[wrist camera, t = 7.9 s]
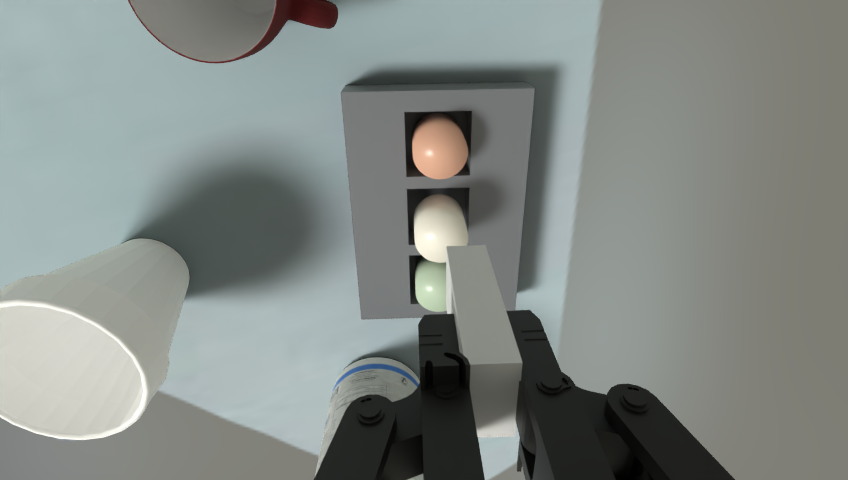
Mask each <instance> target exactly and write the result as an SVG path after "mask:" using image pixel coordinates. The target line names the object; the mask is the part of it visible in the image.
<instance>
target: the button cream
mask: <svg viewBox="0 0 848 480" xmlns="http://www.w3.org/2000/svg"><path fill="white" fill-rule="evenodd" d="M414 238H415V246H416V248H417V250H418V252H419V253H420V254H421V255H422V256H423V257H424V258H426V259H427V260H430V261H432V262H438V263H443V262H446V246H467V244H468V231H467V227H466V224H465V220H464V216H463V212H462V209H461V207H460V205H459V203H458V202H457V201H456V200H455V199H453V198H452V197H450V196H447V195H443V194H435V195H431V196H428V197H426V198H424V199H423V200H422V201H421V202H420V203H419V204H418V205H417V207H416V209H415V212H414Z"/></svg>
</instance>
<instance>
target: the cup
mask: <svg viewBox="0 0 848 480" xmlns="http://www.w3.org/2000/svg"><path fill="white" fill-rule="evenodd" d="M189 280H190V276H189V270H188V267H187V265H186V262H185V261H184V260H183V258H182V257H181V256H180V254H178V253H177V252H176V251H175V250H174V249H173V248H171V247H169V246H168V245H166V244H164V243H162V242H159V241H156V240H153V239H144V238H139V239H132V240H129V241H127V242H124V243H122V244H119V245H117V246H115V247H112V248H110V249H107V250H105V251H102V252H100V253H97V254H95V255H92V256H90V257H87V258H85V259H82V260H80V261H78V262H75V263H73V264H70V265H68V266H65V267H63V268H60V269H58V270H55V271H53V272H50V273H48V274H45V275H39V276H31V277H25V278H23V279H20V280H18V281H16V282H13V283H11V284H9V285H6V286H5V287H4V288H3V289H2V290H1V291H0V417H1V418H3V419H5V420H6V421H8V422H10V423H11V424H14V425H16V426H19V427H21V428H24V429H26V430H29V431H31V432H34V433H37V434H41V435H46V436H50V437H55V438H59V439H75V440H86V439H94V438H102V437H107V436H109V435H112V434H115V433H118V432H121V431H123V430H125V429H126V428H127V427H129V426H130V425H132V424H133V423H134V422H136V421H137V420H138V419H139V418H140V416H141V415H142V413H143V412H144V410H145V409H146V408H147V406H148V402H149V401H150V400H151V398H152V397H153V396H154V394H155V393H156V392H157V391H158V389H159V388H160V386H161V385H162V383H163V382H164V380H165V379H166V376H167V371H168V367H169V357H168V353H169V350H170V346H171V343H172V339H173V336H174V333H175V329H176V326H177V322H178V319H179V316H180V312H181V309H182V305H183V302H184V299H185V295H186V292H187V288H188V285H189Z"/></svg>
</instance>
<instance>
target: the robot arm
mask: <svg viewBox="0 0 848 480" xmlns="http://www.w3.org/2000/svg"><path fill="white" fill-rule="evenodd" d="M446 308H447V314H430V315H424V316H423V318H422V319H421V321H420V323H419V324H418V329H419V363H420V383H419V385H418V387H417V389H416V390H415V391H414V392H413V393H412V394H410V395H409V396H407V397H405V398H403V399H400V400H397V401H394V402H392V401H390V400H389V399H388V398H387V397H384V396H381V395H378V394H374V395H365V396H362V397H359V398H357V399H356V400H354V401H353V402H351V403H350V405H349V406H348V407H347V409H346V410H345V412H344V415H343V417H342V419H341V421H340V423H339V426H338V428H337V430H336V432H335V434H334V437H333V439H332V441H331V443H330V445H329V447H328V450H327V452H326V454H325V456H324V458H323V461H322V463H321V465H320V467H319V469H318V472H317V474H316V476H315V478H314V480H408V479H410V478H413V477H416V476H418V475H421V474H423V480H485V479H484V473H483V467H482V461H481V455H480V449H479V442H478V438H484V437H510V436H515V434H516V424H517V428H518V432H519V435H520V441H519V451H518V460H517V471H521V467H523V471H524V475H525V479H526V480H735V479H734V478H733V477H732V476H731V475H730V474H729V473H728V472H727V471H726V470H725V469H724V468H723V467H722V466H721V465H720V464H719V462H718V461H717V460H716V459H715V458H714V457H712V455H711V454H710V453H709V452H708V451H707V450H706V449H705V448H704V447H703V446H702V445H701V444H700V443H699V441H697V439H696V438H695V437H694V436H693V435H692V434H691V433H690V432H689V431H688V430H687V429H686V428H685V427H684V426H683V425H682V424H681V423H680V422H679V420H677V418H676V417H675V416H674V415H673V414H672V413H671V412H670V411H669V410H668V409H667V408H666V407H665V406H664V405H663V404H662V403H661V402H660V401H659V400H658V398H657V397H655V396H654V395H653V394H652V393H650V392H649V391H648V390H646V389H643V388H641V387H639V386H636V385H631V384H619V385H616V386H614V387H612V388H611V389H610V390H609V392H608V393H607V395H605V394H600V393H596V392H591V391H587V390H584V389H581V388H579V387H576V386H575V384H574V383H573V381H572V380H571V379H570V377H568V376H567V375H565V374H564V373H563V372H561V370H560V368H559V365H558V363H557V360H556V358H555V355H554V353H553V351H552V348H551V346H550V343H549V341H548V338H547V336H546V334H545V332H544V329H543V326H542V324H541V321H540V319H539V318H538V317H537V316H535V315H534V314H533V313H532V312H531V311H530V310H519V311H506V309H505V305H504V302H503V299H502V296H501V293H500V290H499V287H498V283H497V280H496V277H495V274H494V271H493V268H492V264H491V261H490V258H489V255H488V252H487V249H486V245H470V246H446Z"/></svg>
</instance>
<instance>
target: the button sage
mask: <svg viewBox="0 0 848 480" xmlns="http://www.w3.org/2000/svg"><path fill="white" fill-rule="evenodd" d="M415 291H416V298H417V300H418V302H419V303H420V305H421V306H423V307H424V308H426V309H427V310H430V311H434V312H443V311H447V308H446V262H443V263H438V262H432V261H430V260H427V259H426V258H424V257H423V256H422V255H420V256H419V258H418V259H417V261H416V263H415Z"/></svg>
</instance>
